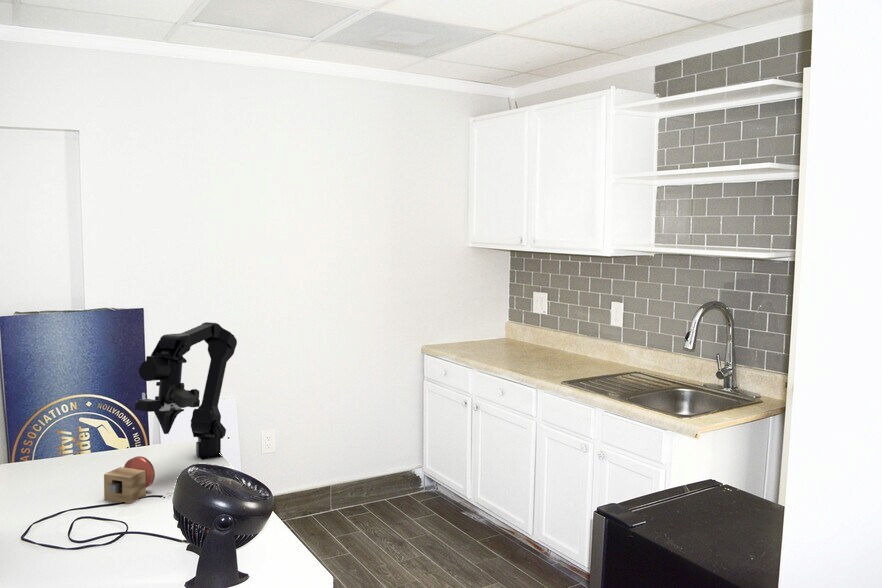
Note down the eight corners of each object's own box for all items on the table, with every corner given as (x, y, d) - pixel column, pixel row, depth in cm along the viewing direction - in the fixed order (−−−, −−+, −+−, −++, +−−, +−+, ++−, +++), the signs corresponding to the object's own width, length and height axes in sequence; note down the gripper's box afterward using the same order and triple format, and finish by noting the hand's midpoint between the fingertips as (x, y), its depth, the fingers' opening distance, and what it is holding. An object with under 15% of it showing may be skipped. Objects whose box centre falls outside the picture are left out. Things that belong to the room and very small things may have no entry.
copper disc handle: (127, 485, 192) (127, 454, 191) (154, 489, 189) (154, 458, 188) (98, 500, 181) (97, 466, 180) (127, 504, 179) (126, 470, 178)
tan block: (120, 491, 188) (120, 466, 188) (145, 495, 186) (145, 470, 186) (104, 499, 183) (103, 474, 182) (130, 503, 180) (129, 477, 180)
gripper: (164, 383, 188) (159, 441, 188) (215, 380, 205) (211, 433, 204) (135, 379, 193) (131, 436, 193) (187, 376, 210) (183, 429, 209)
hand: (166, 433), depth 200 cm, fingers closed
